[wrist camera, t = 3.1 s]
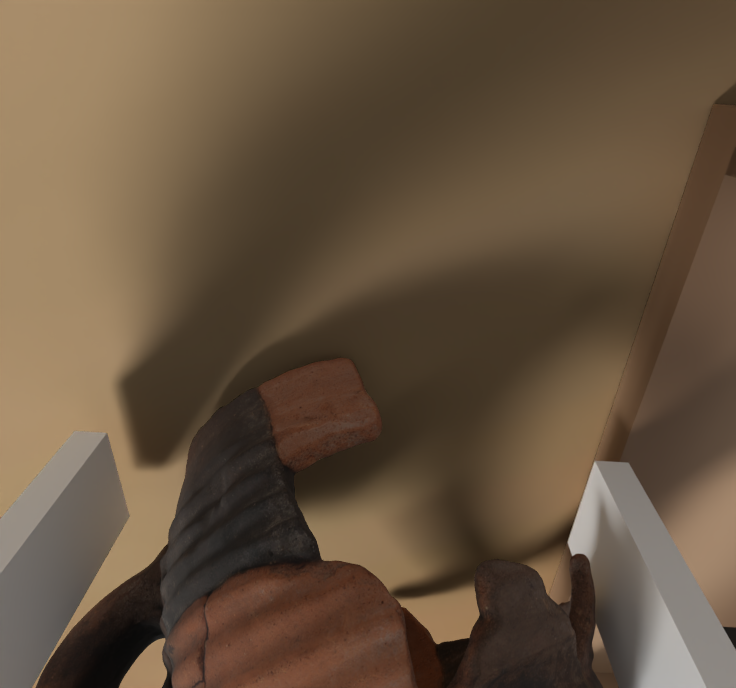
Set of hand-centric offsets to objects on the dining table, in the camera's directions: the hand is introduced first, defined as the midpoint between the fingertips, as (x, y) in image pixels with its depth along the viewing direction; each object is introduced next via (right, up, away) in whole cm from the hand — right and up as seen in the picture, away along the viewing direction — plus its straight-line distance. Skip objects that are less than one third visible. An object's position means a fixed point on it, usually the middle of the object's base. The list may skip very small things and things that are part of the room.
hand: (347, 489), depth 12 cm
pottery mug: (-2, 0, +2) cm, 3 cm away
